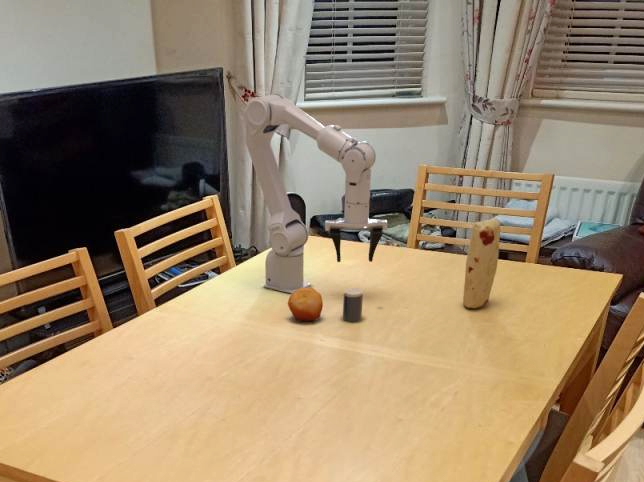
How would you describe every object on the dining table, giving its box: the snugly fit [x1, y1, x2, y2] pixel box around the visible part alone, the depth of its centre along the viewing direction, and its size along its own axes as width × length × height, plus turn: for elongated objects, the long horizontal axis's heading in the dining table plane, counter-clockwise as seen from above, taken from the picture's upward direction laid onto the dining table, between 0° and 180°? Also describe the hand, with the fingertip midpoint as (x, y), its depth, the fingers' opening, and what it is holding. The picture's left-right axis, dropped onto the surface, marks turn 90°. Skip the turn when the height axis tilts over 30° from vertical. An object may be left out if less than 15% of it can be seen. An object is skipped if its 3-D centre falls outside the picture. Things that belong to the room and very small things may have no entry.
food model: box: [462, 218, 501, 309], centre depth 178 cm, size 10×7×20 cm
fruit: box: [287, 286, 324, 322], centre depth 176 cm, size 8×8×8 cm
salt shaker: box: [342, 288, 364, 323], centre depth 175 cm, size 4×4×6 cm
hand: (354, 260), depth 183 cm, fingers open, 7 cm apart
